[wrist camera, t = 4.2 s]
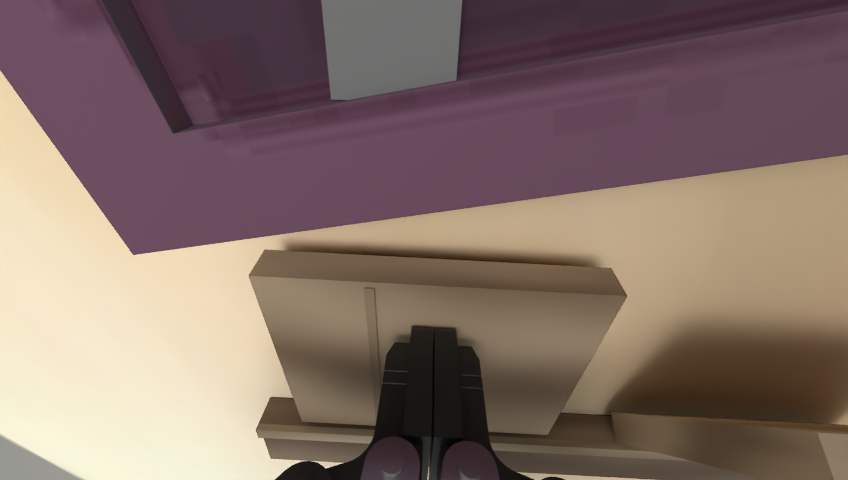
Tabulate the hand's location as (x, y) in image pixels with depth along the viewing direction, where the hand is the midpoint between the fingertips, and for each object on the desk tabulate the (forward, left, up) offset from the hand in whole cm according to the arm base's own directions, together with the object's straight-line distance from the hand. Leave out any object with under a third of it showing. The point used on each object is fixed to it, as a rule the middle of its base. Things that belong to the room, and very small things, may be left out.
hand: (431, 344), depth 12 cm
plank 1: (+2, 0, -1) cm, 2 cm away
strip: (+8, +7, -2) cm, 11 cm away
